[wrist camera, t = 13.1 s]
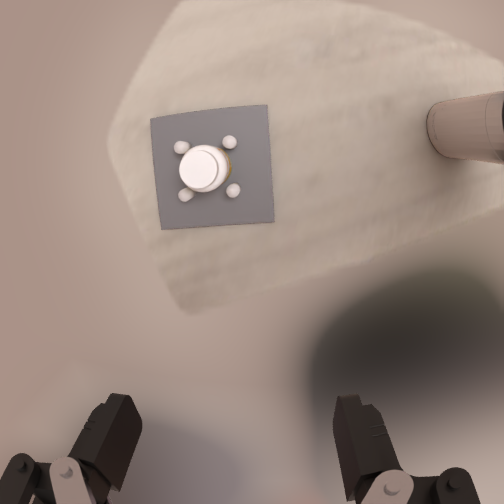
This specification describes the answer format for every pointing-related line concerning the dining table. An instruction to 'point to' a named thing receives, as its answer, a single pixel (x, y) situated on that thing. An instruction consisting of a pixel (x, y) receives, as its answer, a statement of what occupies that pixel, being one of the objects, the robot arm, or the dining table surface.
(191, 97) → the dining table surface
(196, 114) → the pin holder
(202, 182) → the supplement bottle
